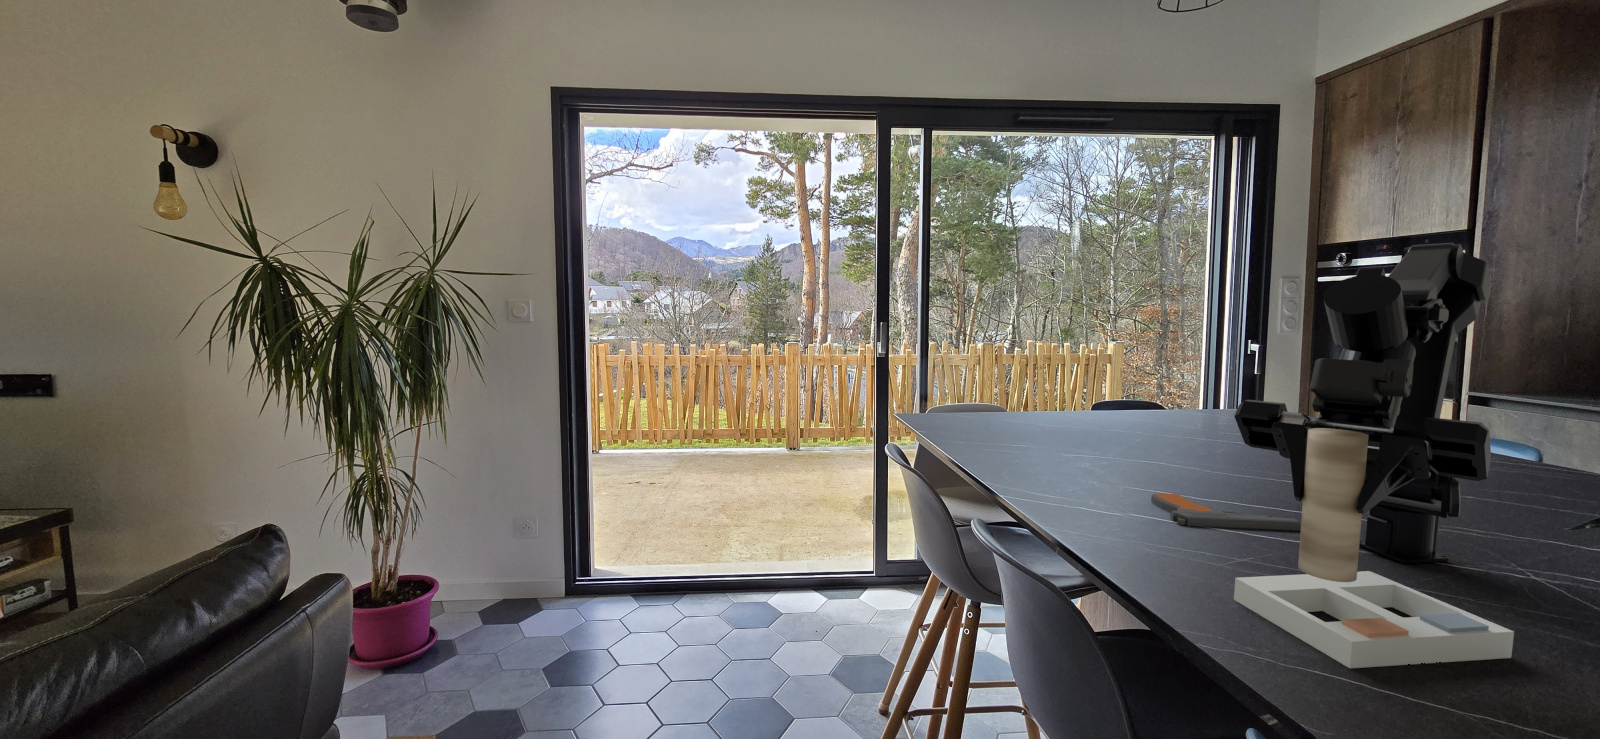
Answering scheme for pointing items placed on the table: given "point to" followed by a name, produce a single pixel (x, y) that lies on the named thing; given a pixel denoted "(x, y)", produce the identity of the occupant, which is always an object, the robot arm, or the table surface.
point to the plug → (1332, 503)
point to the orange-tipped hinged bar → (1217, 515)
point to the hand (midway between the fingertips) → (1327, 504)
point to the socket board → (1373, 620)
